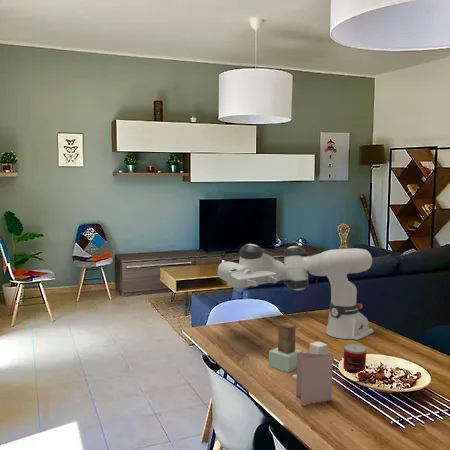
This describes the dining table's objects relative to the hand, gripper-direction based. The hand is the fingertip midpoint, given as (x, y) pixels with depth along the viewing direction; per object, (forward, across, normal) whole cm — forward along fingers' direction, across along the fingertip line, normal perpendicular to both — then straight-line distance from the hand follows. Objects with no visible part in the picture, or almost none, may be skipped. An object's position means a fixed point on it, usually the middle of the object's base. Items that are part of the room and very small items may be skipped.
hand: (266, 282), depth 197 cm
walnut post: (+12, 0, -24) cm, 27 cm away
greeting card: (+39, +13, -30) cm, 51 cm away
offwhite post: (+22, -7, -30) cm, 38 cm away
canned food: (+34, -13, -30) cm, 47 cm away
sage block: (+12, 0, -30) cm, 32 cm away
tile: (+26, +1, -30) cm, 40 cm away
